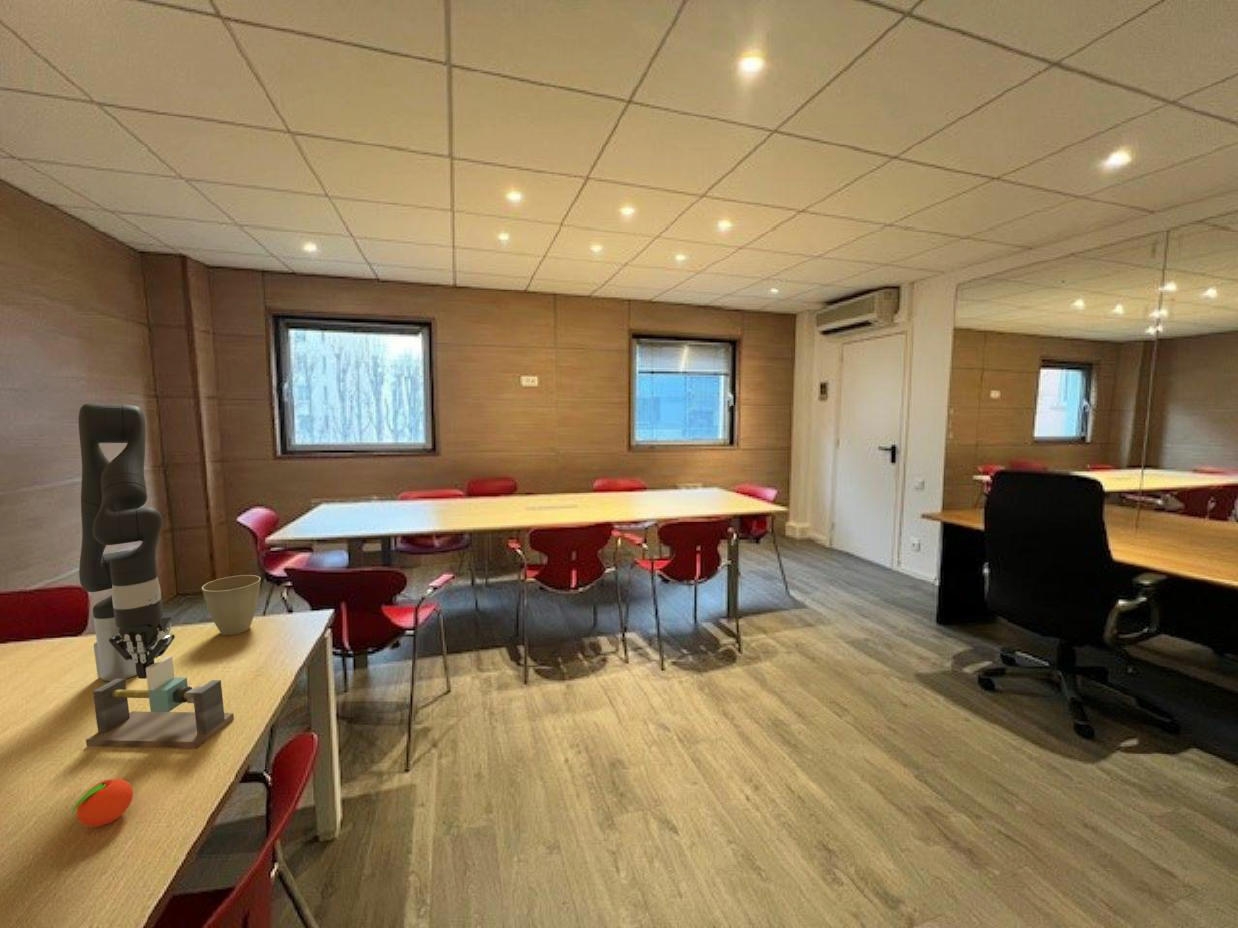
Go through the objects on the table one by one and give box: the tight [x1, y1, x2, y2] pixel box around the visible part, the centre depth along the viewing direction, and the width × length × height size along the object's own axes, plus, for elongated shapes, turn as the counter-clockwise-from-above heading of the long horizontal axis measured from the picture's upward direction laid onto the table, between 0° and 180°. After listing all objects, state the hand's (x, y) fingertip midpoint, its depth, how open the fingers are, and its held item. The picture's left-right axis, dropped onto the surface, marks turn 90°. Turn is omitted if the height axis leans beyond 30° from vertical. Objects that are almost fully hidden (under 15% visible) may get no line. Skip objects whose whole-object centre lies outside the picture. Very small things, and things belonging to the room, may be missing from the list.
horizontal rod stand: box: [85, 679, 235, 749], centre depth 112 cm, size 24×10×11 cm, turn 89°
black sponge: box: [160, 616, 173, 635], centre depth 157 cm, size 16×8×4 cm, turn 34°
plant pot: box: [201, 574, 261, 636], centre depth 162 cm, size 15×15×16 cm
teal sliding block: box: [146, 655, 189, 712], centre depth 111 cm, size 4×5×10 cm
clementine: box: [70, 778, 134, 828], centre depth 88 cm, size 8×7×7 cm
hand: (146, 676), depth 111 cm, fingers closed
